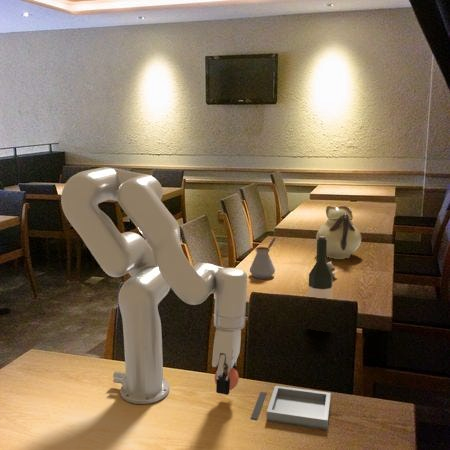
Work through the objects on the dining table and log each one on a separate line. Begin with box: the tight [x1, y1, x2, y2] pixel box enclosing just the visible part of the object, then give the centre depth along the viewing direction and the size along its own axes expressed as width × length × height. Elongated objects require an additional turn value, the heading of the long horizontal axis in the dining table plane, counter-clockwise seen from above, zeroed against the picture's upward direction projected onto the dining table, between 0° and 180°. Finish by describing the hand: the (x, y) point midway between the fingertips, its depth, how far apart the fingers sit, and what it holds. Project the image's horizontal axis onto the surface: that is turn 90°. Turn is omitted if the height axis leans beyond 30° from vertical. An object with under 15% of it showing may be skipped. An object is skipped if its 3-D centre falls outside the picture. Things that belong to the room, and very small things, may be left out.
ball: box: [214, 365, 239, 391], centre depth 124 cm, size 6×6×6 cm
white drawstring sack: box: [315, 205, 362, 260], centre depth 254 cm, size 22×24×25 cm
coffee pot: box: [249, 237, 278, 280], centre depth 229 cm, size 21×12×15 cm, turn 152°
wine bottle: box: [307, 236, 334, 300], centre depth 174 cm, size 8×8×30 cm
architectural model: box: [326, 260, 339, 278], centre depth 221 cm, size 3×7×7 cm, turn 143°
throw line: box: [250, 391, 267, 421], centre depth 123 cm, size 2×12×1 cm, turn 165°
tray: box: [266, 385, 332, 431], centre depth 121 cm, size 14×12×2 cm
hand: (226, 385), depth 125 cm, fingers closed on ball, 5 cm apart
